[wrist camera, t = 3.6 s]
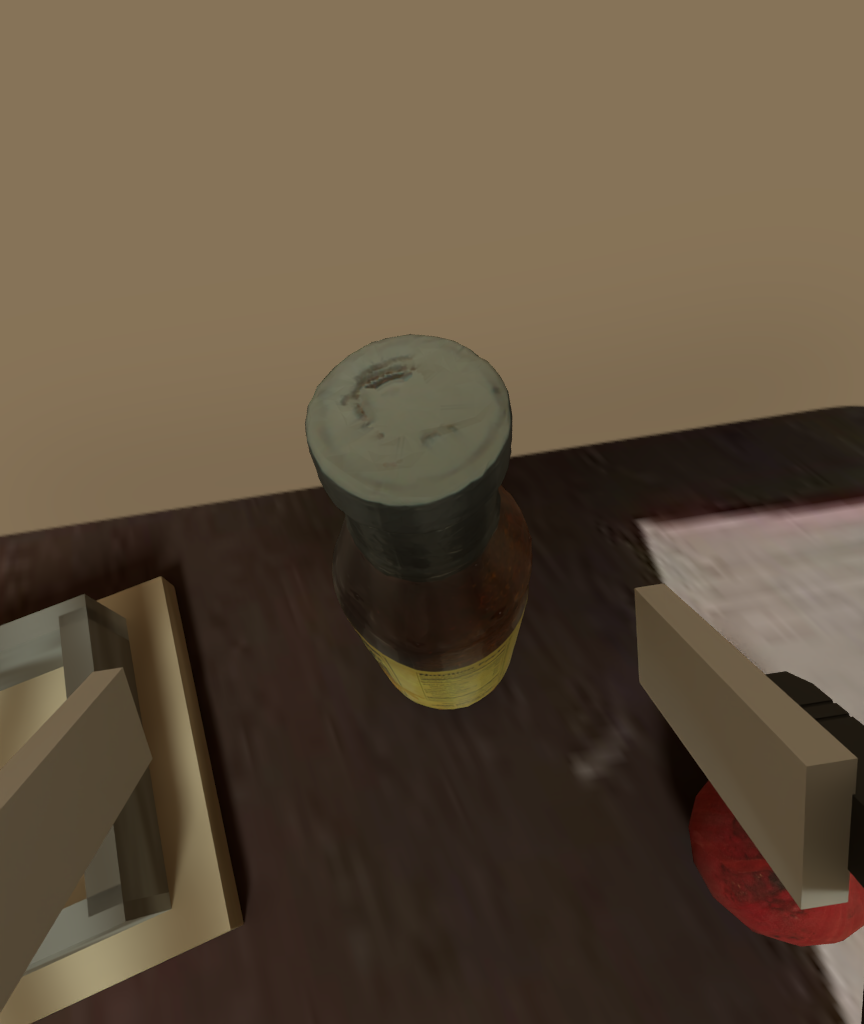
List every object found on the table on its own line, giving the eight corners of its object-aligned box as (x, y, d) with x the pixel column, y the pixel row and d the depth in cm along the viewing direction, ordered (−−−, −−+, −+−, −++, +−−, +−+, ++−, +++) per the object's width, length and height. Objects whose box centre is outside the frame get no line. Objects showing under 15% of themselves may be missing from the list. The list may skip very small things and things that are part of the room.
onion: (724, 957, 23) (836, 1016, 16) (638, 805, 25) (701, 797, 18) (846, 883, 24) (1004, 907, 17) (750, 743, 26) (852, 713, 19)
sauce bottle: (392, 586, 31) (283, 268, 13) (513, 593, 30) (567, 270, 13) (375, 717, 28) (205, 531, 10) (510, 728, 27) (574, 551, 10)
